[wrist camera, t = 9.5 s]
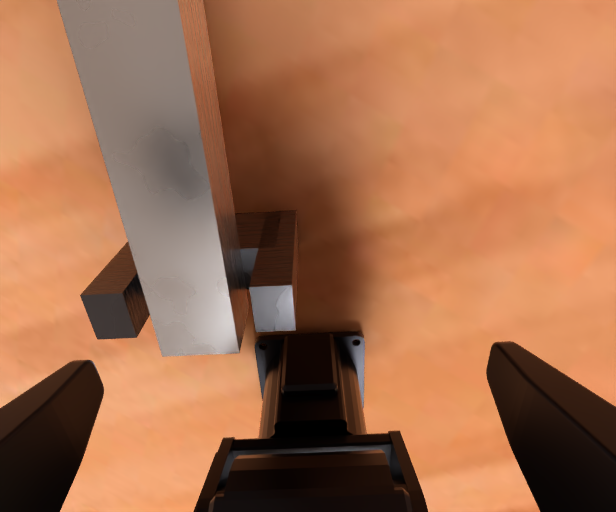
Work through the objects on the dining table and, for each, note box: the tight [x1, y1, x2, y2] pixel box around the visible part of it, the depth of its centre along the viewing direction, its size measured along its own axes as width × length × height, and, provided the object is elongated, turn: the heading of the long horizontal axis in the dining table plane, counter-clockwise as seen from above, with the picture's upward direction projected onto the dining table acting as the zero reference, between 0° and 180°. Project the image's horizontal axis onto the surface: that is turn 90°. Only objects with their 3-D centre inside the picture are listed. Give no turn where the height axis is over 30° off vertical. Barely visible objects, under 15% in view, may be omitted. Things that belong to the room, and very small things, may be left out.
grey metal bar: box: [57, 0, 249, 357], centre depth 12 cm, size 22×3×3 cm, turn 3°
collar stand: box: [80, 211, 299, 339], centre depth 13 cm, size 20×8×7 cm, turn 3°
